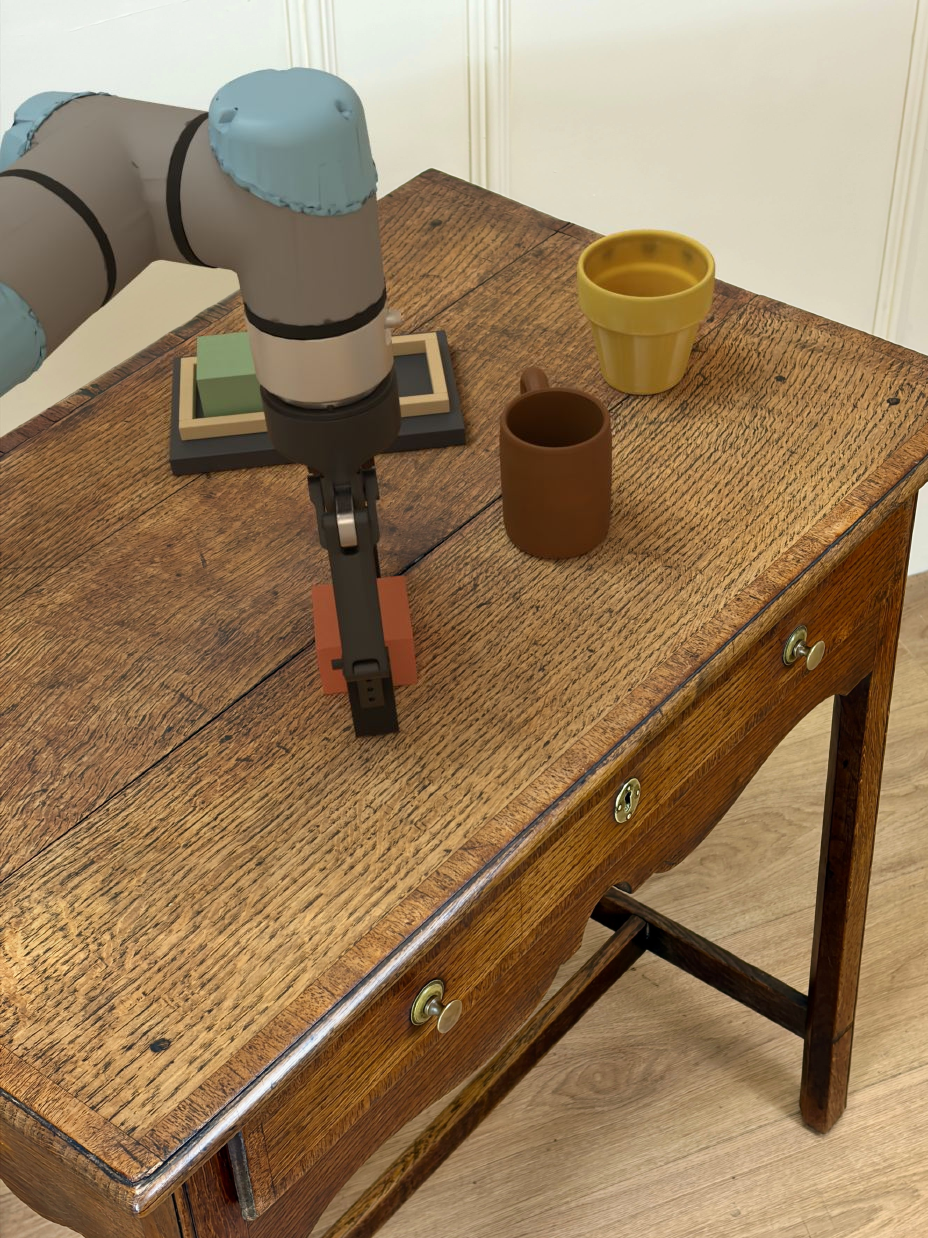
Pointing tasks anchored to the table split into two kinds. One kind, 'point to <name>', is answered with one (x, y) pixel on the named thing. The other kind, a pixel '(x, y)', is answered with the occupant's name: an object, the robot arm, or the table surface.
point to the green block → (227, 375)
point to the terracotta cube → (393, 628)
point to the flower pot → (645, 305)
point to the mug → (555, 468)
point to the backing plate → (245, 436)
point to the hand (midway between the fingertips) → (369, 655)
